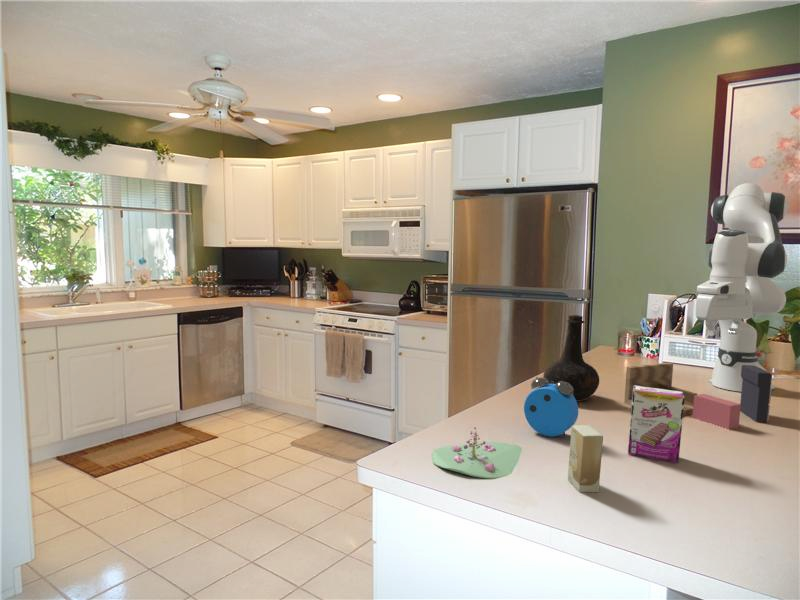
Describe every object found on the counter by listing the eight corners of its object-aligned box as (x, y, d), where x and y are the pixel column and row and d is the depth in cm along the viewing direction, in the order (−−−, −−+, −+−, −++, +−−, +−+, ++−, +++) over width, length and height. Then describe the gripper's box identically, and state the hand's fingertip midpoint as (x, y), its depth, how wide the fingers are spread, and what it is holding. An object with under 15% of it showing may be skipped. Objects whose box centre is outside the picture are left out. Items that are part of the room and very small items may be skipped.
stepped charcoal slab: (770, 423, 151) (775, 373, 149) (753, 422, 152) (758, 372, 150) (752, 411, 162) (756, 365, 160) (737, 410, 162) (741, 364, 161)
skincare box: (566, 479, 111) (570, 424, 109) (586, 478, 111) (589, 424, 110) (579, 493, 104) (583, 435, 103) (600, 493, 105) (604, 435, 103)
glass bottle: (539, 401, 168) (543, 316, 165) (545, 387, 184) (549, 310, 182) (597, 408, 161) (603, 320, 158) (598, 394, 178) (603, 314, 175)
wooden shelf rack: (666, 396, 176) (669, 362, 175) (711, 410, 162) (714, 373, 161) (624, 402, 168) (626, 366, 167) (667, 417, 154) (670, 378, 152)
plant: (470, 434, 138) (471, 401, 137) (543, 455, 125) (545, 419, 124) (414, 463, 118) (415, 425, 118) (493, 491, 106) (495, 448, 105)
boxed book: (702, 416, 156) (704, 393, 156) (738, 428, 146) (740, 404, 146) (692, 417, 155) (694, 395, 154) (728, 430, 145) (730, 405, 144)
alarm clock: (577, 436, 136) (580, 381, 135) (569, 443, 131) (572, 386, 130) (531, 425, 144) (533, 373, 143) (521, 431, 139) (524, 377, 138)
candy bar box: (627, 455, 125) (632, 389, 123) (628, 448, 129) (632, 384, 127) (679, 464, 120) (685, 396, 118) (678, 456, 124) (683, 390, 123)
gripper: (738, 286, 154) (734, 331, 155) (692, 286, 145) (688, 334, 147) (761, 287, 148) (756, 335, 149) (714, 288, 139) (710, 338, 141)
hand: (722, 334), depth 148 cm, fingers open, 8 cm apart
